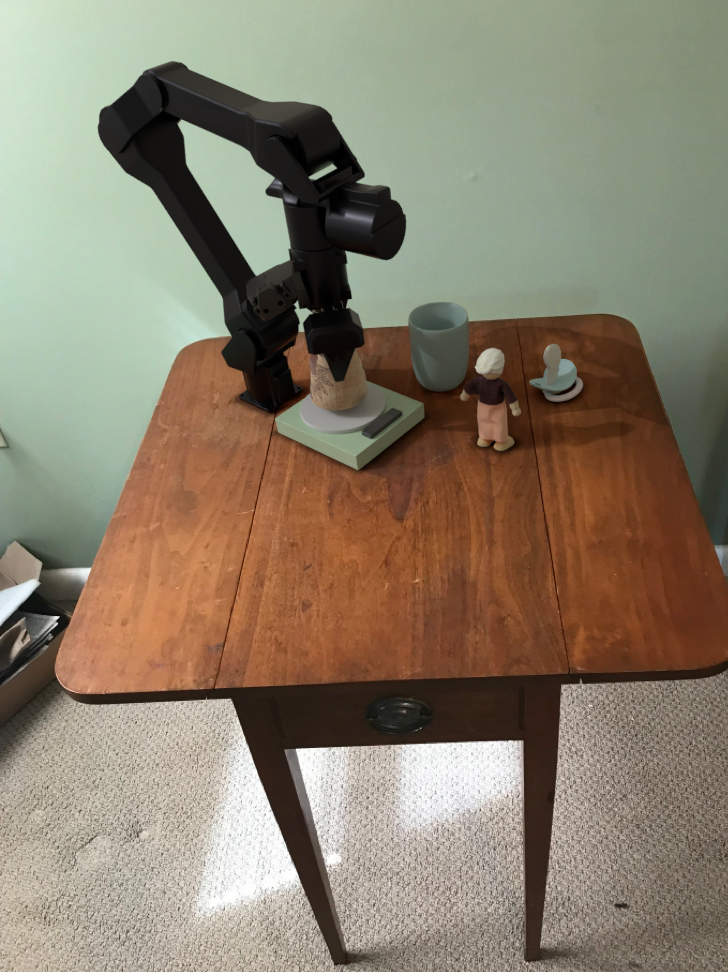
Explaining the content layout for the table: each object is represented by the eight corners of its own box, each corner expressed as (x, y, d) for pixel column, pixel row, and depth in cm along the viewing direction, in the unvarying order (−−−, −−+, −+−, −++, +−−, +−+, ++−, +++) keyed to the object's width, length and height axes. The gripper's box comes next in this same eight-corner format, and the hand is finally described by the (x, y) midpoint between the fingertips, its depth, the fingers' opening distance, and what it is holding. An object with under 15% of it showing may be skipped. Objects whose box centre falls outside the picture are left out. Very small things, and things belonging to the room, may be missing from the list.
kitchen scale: (278, 432, 99) (273, 414, 98) (345, 385, 106) (342, 367, 104) (358, 470, 93) (355, 452, 91) (424, 417, 99) (423, 399, 97)
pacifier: (592, 385, 102) (553, 370, 105) (598, 343, 97) (557, 329, 100) (561, 411, 98) (522, 395, 101) (566, 369, 94) (525, 353, 97)
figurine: (339, 374, 101) (326, 288, 93) (379, 391, 97) (370, 302, 89) (300, 400, 97) (283, 312, 89) (341, 417, 94) (328, 328, 85)
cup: (471, 397, 102) (469, 329, 95) (412, 401, 102) (407, 333, 95) (468, 366, 107) (467, 299, 100) (413, 369, 108) (408, 303, 101)
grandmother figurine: (525, 436, 95) (528, 344, 86) (518, 455, 92) (520, 362, 83) (465, 428, 97) (462, 338, 88) (456, 446, 94) (452, 355, 86)
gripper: (239, 218, 89) (266, 339, 100) (245, 290, 76) (275, 420, 87) (333, 204, 90) (350, 325, 101) (356, 273, 77) (372, 403, 88)
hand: (335, 365), depth 94 cm, fingers closed on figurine, 6 cm apart
